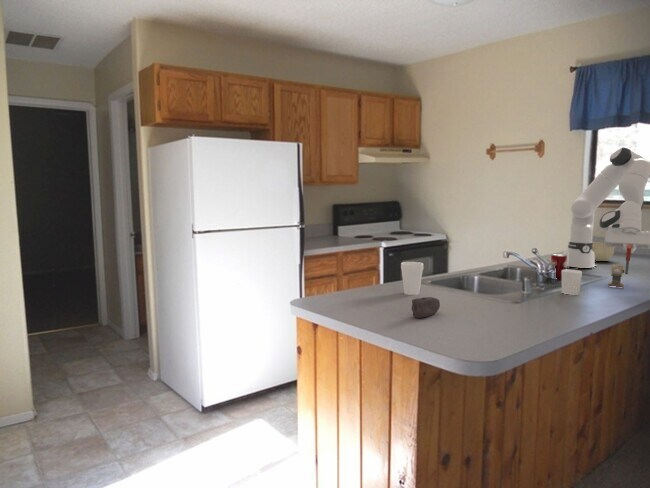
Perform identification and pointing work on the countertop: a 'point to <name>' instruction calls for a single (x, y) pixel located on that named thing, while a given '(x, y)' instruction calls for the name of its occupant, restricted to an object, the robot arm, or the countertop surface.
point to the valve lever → (627, 258)
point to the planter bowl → (602, 251)
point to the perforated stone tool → (425, 306)
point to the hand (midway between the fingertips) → (629, 253)
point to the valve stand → (616, 276)
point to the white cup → (571, 281)
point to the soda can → (559, 264)
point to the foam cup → (411, 277)
